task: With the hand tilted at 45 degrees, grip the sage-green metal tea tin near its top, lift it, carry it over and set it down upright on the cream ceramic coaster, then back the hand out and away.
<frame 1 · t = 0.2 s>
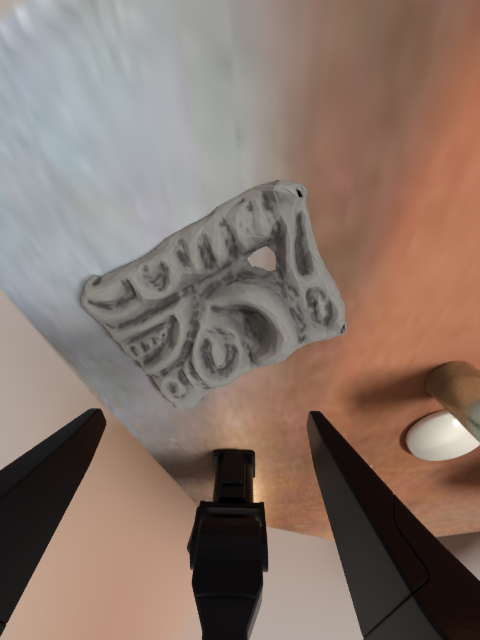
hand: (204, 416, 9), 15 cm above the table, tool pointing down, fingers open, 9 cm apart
wall plaque: (225, 313, 24), on the table
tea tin: (448, 379, 26), on the table
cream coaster: (442, 433, 31), on the table
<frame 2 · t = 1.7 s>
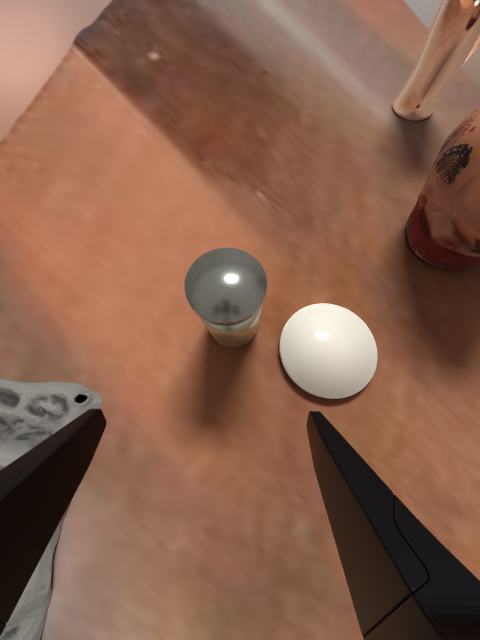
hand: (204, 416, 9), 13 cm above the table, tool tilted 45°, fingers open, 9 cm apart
decorative planter: (437, 228, 28), on the table
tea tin: (233, 323, 25), on the table
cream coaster: (325, 349, 23), on the table
beer glass: (410, 109, 35), on the table
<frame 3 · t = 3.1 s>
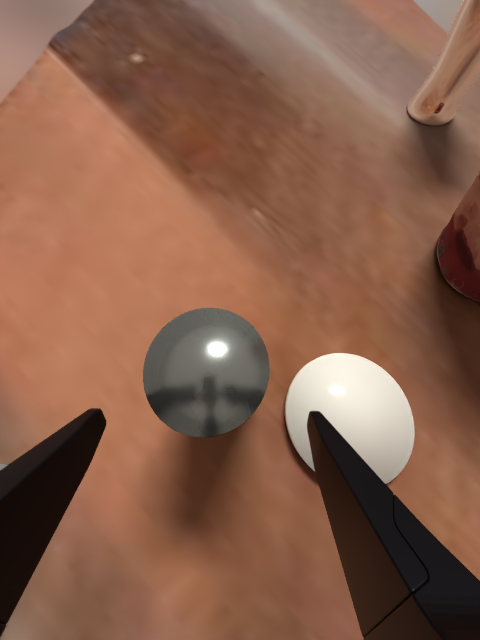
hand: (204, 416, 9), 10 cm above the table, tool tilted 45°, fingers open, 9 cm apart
decorative planter: (473, 252, 23), on the table
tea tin: (225, 379, 19), on the table
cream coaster: (344, 414, 18), on the table
beer glass: (428, 113, 30), on the table
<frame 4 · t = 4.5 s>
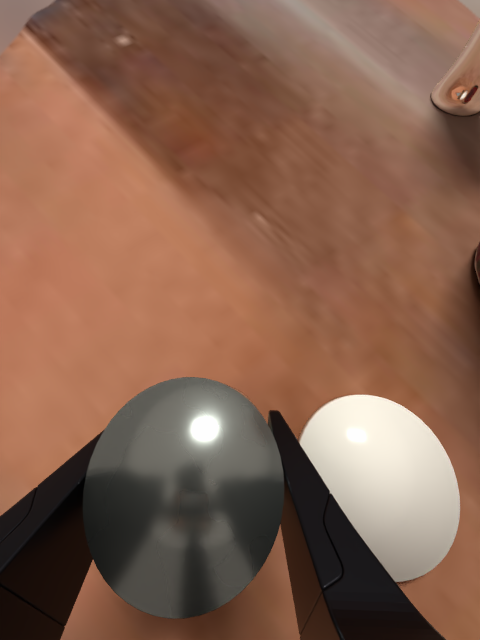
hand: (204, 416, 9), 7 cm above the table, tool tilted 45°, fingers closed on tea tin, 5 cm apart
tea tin: (221, 425, 16), on the table, touching gripper
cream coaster: (369, 473, 15), on the table
beer glass: (455, 101, 26), on the table
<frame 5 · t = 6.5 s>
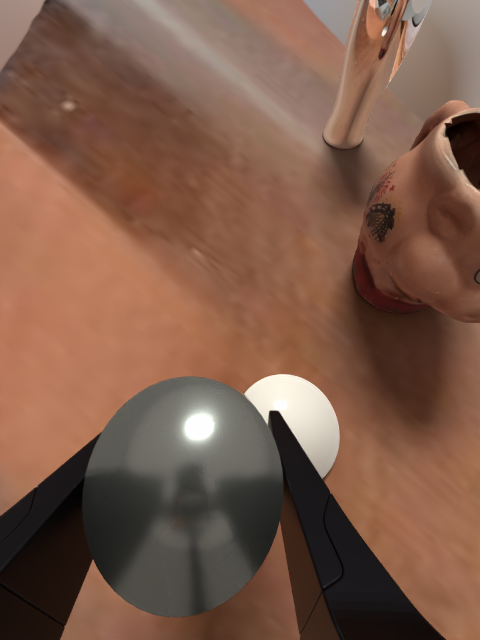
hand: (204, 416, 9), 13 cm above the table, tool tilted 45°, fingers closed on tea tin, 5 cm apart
decorative planter: (384, 265, 27), on the table
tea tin: (221, 425, 16), point 6 cm above the table, touching gripper
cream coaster: (284, 427, 21), on the table
beer glass: (341, 137, 34), on the table
when the fingers open (9 cm above the table, at t = 8.6 s): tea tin drops 1 cm, resting on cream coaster.
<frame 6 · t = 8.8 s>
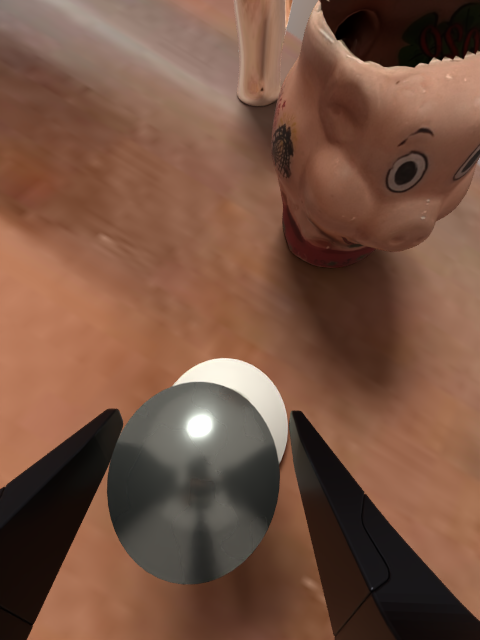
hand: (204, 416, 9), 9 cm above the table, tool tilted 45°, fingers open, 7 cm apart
decorative planter: (319, 219, 24), on the table
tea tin: (222, 424, 17), point 1 cm above the table, touching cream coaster
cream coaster: (223, 421, 18), on the table
beer glass: (258, 94, 31), on the table
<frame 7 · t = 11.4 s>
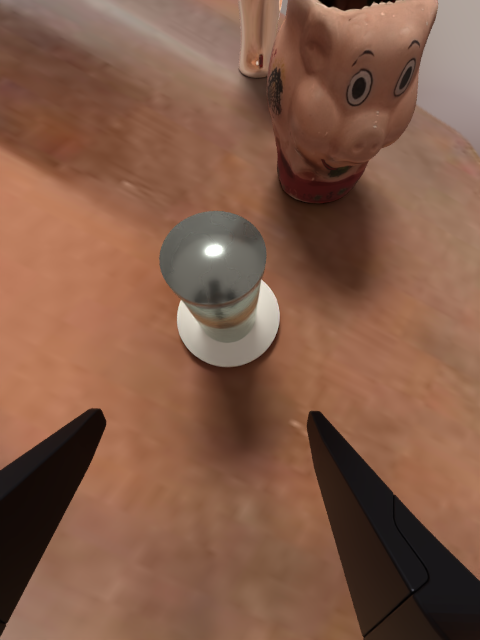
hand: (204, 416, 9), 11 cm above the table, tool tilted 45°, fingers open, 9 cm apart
decorative planter: (308, 168, 28), on the table
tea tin: (227, 315, 21), point 1 cm above the table, touching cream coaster
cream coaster: (228, 316, 22), on the table
beer glass: (257, 68, 35), on the table
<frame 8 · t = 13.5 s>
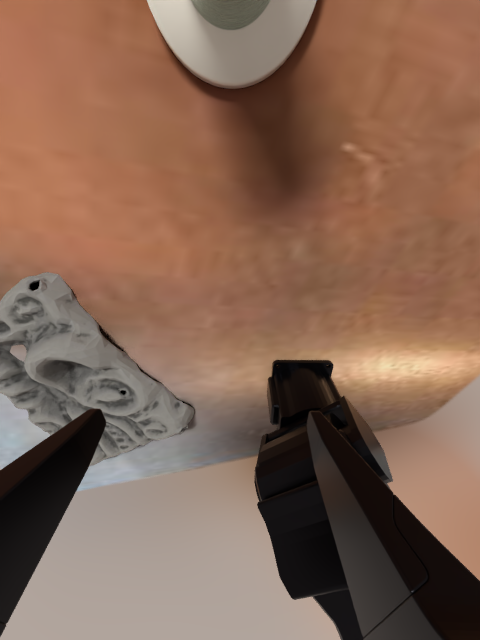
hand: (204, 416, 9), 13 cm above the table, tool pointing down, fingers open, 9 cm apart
wall plaque: (88, 376, 27), on the table
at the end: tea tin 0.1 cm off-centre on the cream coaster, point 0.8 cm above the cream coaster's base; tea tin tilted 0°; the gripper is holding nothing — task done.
